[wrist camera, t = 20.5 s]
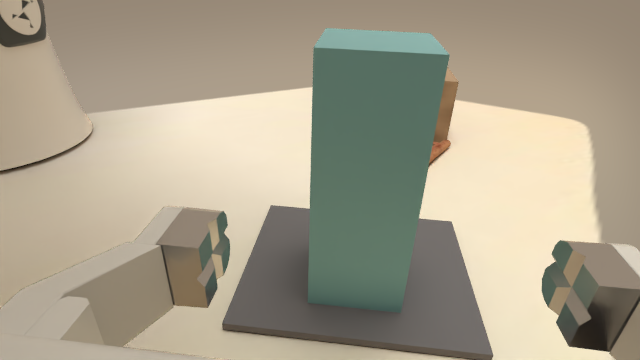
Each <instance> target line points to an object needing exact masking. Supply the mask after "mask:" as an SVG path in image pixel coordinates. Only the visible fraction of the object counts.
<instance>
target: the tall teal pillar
mask: <svg viewBox="0 0 640 360" xmlns="http://www.w3.org/2000/svg"><path fill="white" fill-rule="evenodd" d="M313 56H314V57H313V96H312V139H311V182H310V224H309V267H308V303H314V304H323V305H332V306H342V307H351V308H360V309H370V310H379V311H389V312H398V313H401V309H402V304H403V299H404V293H405V288H406V283H407V278H408V272H409V267H410V262H411V256H412V251H413V246H414V241H415V235H416V230H417V225H418V219H419V214H420V209H421V204H422V198H423V193H424V188H425V182H426V177H427V172H428V167H429V161H430V156H431V151H432V145H433V140H434V135H435V129H436V124H437V119H438V114H439V108H440V103H441V98H442V92H443V87H444V82H445V77H446V71H447V65H448V61H449V54H448V52H447V51H446V50H445V49H444V48H443V47H442V46H441V45H440V43H439V42H438V41H437V40H436V39H435V38H434V37H433V36H432V35H431V34H430V33H409V32H390V31H370V30H350V29H331V28H326V30H325V31H324V32H323V34H322V35H321V37H320V39H319V40H318V42H317V43H316V45H315V46H314V54H313Z"/></svg>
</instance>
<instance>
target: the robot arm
mask: <svg viewBox="0 0 640 360" xmlns="http://www.w3.org/2000/svg"><path fill="white" fill-rule="evenodd" d="M92 129H93V124H92V122H91V121H90V120H89V118H88V117H87V115H86V113H85V112H84V110H83V108H82V107H81V105H80V104H79V102H78V100H77V98H76V96H75V94H74V92H73V90H72V88H71V86H70V84H69V82H68V80H67V78H66V75H65V73H64V71H63V69H62V66H61V64H60V62H59V59H58V57H57V55H56V53H55V50H54V48H53V46H52V44H51V41H50V39H49V36H48V33H47V30H46V23H45V15H44V5H43V1H42V0H0V171H1V170H6V169H10V168H15V167H19V166H22V165H26V164H30V163H33V162H36V161H39V160H42V159H45V158H48V157H51V156H53V155H56V154H58V153H61V152H63V151H65V150H67V149H69V148H71V147H73V146H75V145H77V144H78V143H80V142H81V141H83V140H84V139H85V138H86V137H88V135H89V134H90V133H91V131H92ZM227 226H228V224H227V217H226V214H225V213H224V211H216V210H207V209H198V208H188V207H187V208H185V207H177V206H166V207H163V208H162V209H161V211H160V212H159V213H158V214H157V215H156V216H155V217H154V219H153V220H152V221H151V222H150V223H149V224H148V226H147V227H146V228H145V229H144V230H143V231H142V233H141V234H140V235H139V236H138V237H137V238H136V239H135V241H134V242H133V243H130V242H126V243H124V244H122V245H119V246H117V247H115V248H113V249H110V250H108V251H106V252H104V253H101V254H99V255H97V256H95V257H92V258H90V259H88V260H86V261H83V262H81V263H79V264H77V265H74V266H72V267H70V268H68V269H66V270H63V271H61V272H59V273H57V274H54V275H52V276H50V277H48V278H45V279H43V280H41V281H39V282H36V283H34V284H32V285H30V286H27V287H25V288H23V289H21V290H20V291H19V292H18V293H17V294H15V295H14V296H13V297H12V298H11V299H10V300H9V301H8V302H7V303H6V304H5V305H4V306H2V307H1V308H0V360H229V359H220V358H212V357H203V356H195V355H186V354H178V353H169V352H160V351H152V350H143V349H135V348H126V347H123V346H124V345H125V344H127V343H128V342H129V341H131V340H132V339H133V338H134V337H136V336H137V335H138V334H140V333H141V332H142V331H143V330H145V329H146V328H147V327H149V326H150V325H151V324H153V323H154V322H155V321H156V320H158V319H159V318H160V317H162V316H163V315H164V314H165V313H167V312H168V311H169V310H171V309H172V308H173V307H174V306H173V305H176V306H189V307H202V308H208V307H209V305H210V302H211V300H212V298H213V296H214V294H215V292H216V290H217V279H218V278H220V277H221V276H223V275H224V273H225V271H226V268H227V265H228V261H229V256H230V243H229V239H228V238H227V236H226V235H225V234H224V231H225V229H226V228H227ZM552 256H553V258H554V260H555V262H554V263H553V264H551V265H550V266H548V267H547V268H546V269H545V272H544V275H543V278H542V293H543V297H544V300H545V302H546V304H547V306H548V308H550V309H551V310H552V311H554V312H555V313H556V314H558V315H559V317H558V319H557V322H556V323H557V325H558V327H559V329H560V331H561V333H562V334H563V336H564V338H565V340H566V342H567V344H568V346H569V347H576V348H584V349H592V350H599V351H607V352H610V353H609V354H610V355H611V356H613V357H614V358H615V359H616V360H640V252H639V251H638V250H637V249H636V248H635V247H633V246H631V245H628V244H611V243H605V244H603V243H589V242H575V241H561V240H560V241H559V242H558V243H557V244H556V245H555V247H554V249H553V252H552Z"/></svg>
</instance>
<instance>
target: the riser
mask: <svg viewBox="0 0 640 360" xmlns="http://www.w3.org/2000/svg"><path fill="white" fill-rule="evenodd" d="M457 87H458V80H457V79H456V78H455V76H454V75H453V74H452V72H451V71H450V70H449V68H448V67H447V71H446V77H445V82H444V87H443V92H442V98H441V103H440V108H439V114H438V119H437V124H436V129H435V135H434V140H433V142H438V143H441V142H442V141H443V140H447V136H448V131H449V126H450V121H451V116H452V111H453V107H454V102H455V97H456V92H457Z"/></svg>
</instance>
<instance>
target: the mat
mask: <svg viewBox="0 0 640 360" xmlns="http://www.w3.org/2000/svg"><path fill="white" fill-rule="evenodd" d="M309 224H310V209H306V208H295V207H284V206H273V205H271V207H270V209H269V212H268V214H267V216H266V219H265V221H264V224H263V226H262V228H261V231H260V233H259V236H258V238H257V241H256V243H255V245H254V248H253V250H252V253H251V255H250V257H249V260H248V262H247V265H246V267H245V270H244V272H243V274H242V277H241V279H240V282H239V284H238V286H237V289H236V291H235V294H234V296H233V299H232V301H231V303H230V306H229V308H228V311H227V313H226V315H225V318H224V320H223V323H222V325H223V329H224V330H233V331H241V332H250V333H258V334H266V335H275V336H283V337H292V338H300V339H309V340H317V341H325V342H334V343H342V344H351V345H359V346H367V347H376V348H384V349H393V350H401V351H410V352H418V353H426V354H435V355H443V356H452V357H460V358H468V359H477V360H492V357H493V353H492V350H491V346H490V343H489V340H488V337H487V334H486V330H485V327H484V324H483V321H482V318H481V314H480V311H479V308H478V305H477V302H476V298H475V295H474V292H473V289H472V286H471V282H470V279H469V276H468V273H467V270H466V266H465V263H464V260H463V257H462V254H461V250H460V247H459V244H458V241H457V238H456V234H455V231H454V228H453V225H452V222H450V221H439V220H428V219H418V225H417V230H416V235H415V241H414V246H413V251H412V256H411V262H410V267H409V272H408V278H407V283H406V288H405V293H404V299H403V304H402V309H401V313H398V312H389V311H379V310H370V309H360V308H351V307H342V306H332V305H323V304H314V303H308V267H309Z"/></svg>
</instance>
